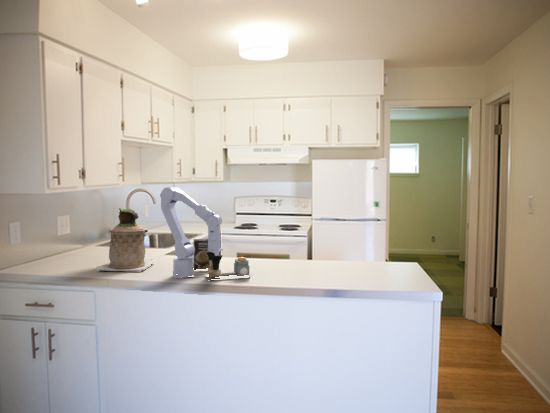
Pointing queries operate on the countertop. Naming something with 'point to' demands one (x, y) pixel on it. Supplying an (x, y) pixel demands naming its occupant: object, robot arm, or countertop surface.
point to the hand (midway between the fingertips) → (214, 268)
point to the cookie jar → (127, 245)
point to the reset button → (241, 258)
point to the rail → (224, 274)
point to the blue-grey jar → (241, 267)
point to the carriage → (213, 272)
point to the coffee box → (200, 254)
